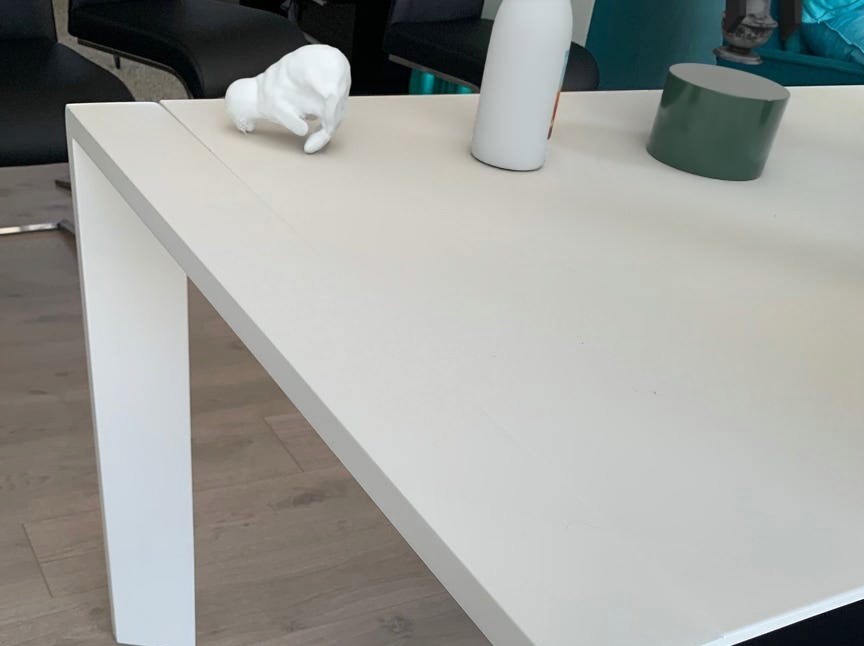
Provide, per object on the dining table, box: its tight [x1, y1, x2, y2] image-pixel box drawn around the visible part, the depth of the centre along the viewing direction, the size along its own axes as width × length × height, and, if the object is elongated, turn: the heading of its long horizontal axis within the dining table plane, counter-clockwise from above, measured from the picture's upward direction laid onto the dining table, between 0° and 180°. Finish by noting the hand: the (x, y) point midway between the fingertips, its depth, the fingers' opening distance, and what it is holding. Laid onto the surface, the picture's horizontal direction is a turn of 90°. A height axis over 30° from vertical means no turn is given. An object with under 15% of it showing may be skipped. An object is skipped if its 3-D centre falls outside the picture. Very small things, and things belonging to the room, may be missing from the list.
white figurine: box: [224, 44, 352, 154], centre depth 96 cm, size 6×8×12 cm
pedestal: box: [646, 62, 791, 181], centre depth 111 cm, size 13×13×8 cm
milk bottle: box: [470, 0, 574, 171], centre depth 97 cm, size 8×8×20 cm
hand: (763, 27), depth 102 cm, fingers closed on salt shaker, 5 cm apart
